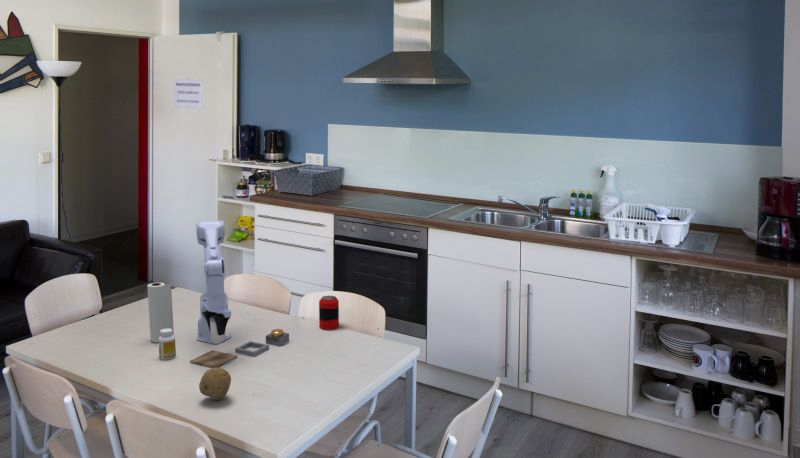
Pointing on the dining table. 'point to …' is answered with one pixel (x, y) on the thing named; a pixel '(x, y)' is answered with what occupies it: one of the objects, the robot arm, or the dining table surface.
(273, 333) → the plunger
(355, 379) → the dining table surface
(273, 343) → the plunger base
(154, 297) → the paper towel roll
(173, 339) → the supplement bottle
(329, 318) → the soda can
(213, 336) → the cylinder
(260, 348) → the collar
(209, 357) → the pad
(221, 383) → the potato
